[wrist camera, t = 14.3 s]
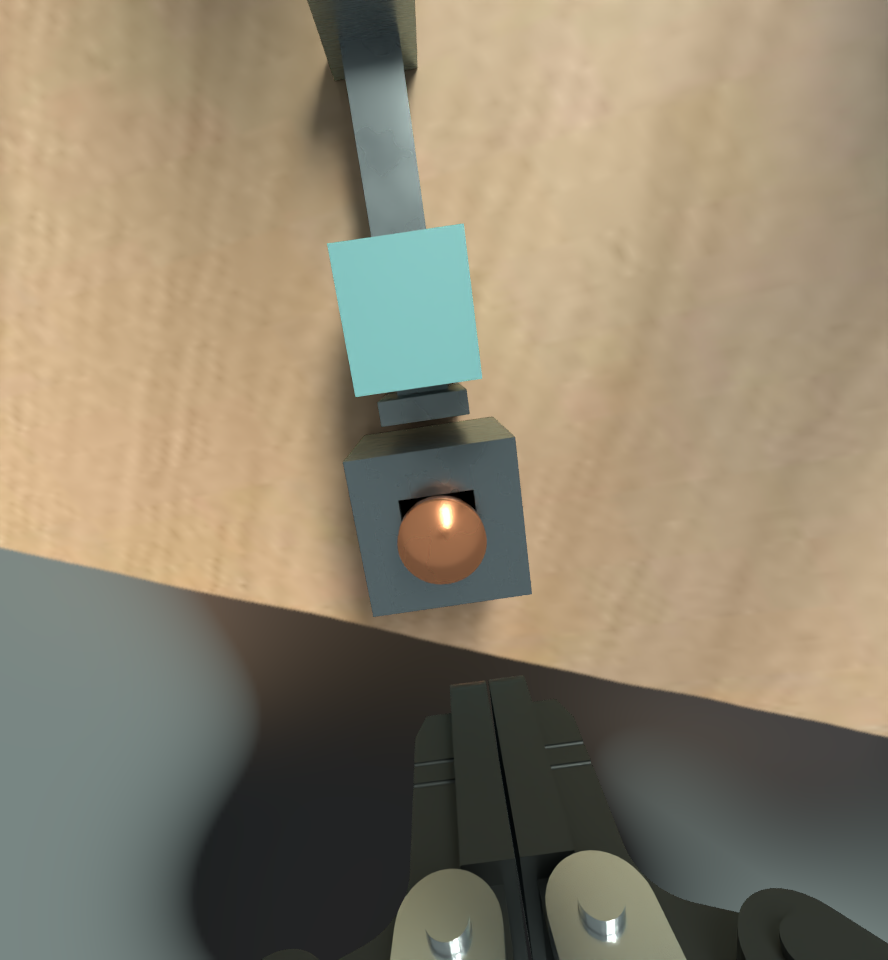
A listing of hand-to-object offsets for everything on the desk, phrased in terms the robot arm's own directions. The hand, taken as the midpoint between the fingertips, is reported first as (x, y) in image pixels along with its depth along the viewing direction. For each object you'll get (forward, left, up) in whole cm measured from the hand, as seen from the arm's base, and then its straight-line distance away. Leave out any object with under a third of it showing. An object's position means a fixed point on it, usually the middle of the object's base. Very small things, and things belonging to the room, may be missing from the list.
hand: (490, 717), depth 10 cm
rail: (-14, -1, -22) cm, 26 cm away
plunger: (+1, -1, -19) cm, 19 cm away
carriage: (-9, -1, -20) cm, 22 cm away
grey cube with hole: (+1, -1, -22) cm, 22 cm away
